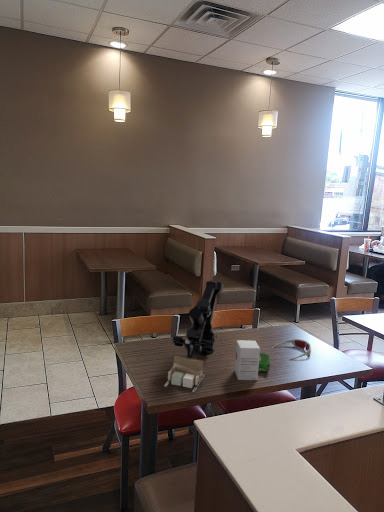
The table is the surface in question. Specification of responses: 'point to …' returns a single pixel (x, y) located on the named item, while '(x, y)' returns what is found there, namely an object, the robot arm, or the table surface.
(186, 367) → the toy sofa
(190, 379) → the cream block
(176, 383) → the sage block
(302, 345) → the sunglasses
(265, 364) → the snack package
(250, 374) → the supplement box
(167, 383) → the steel handle
